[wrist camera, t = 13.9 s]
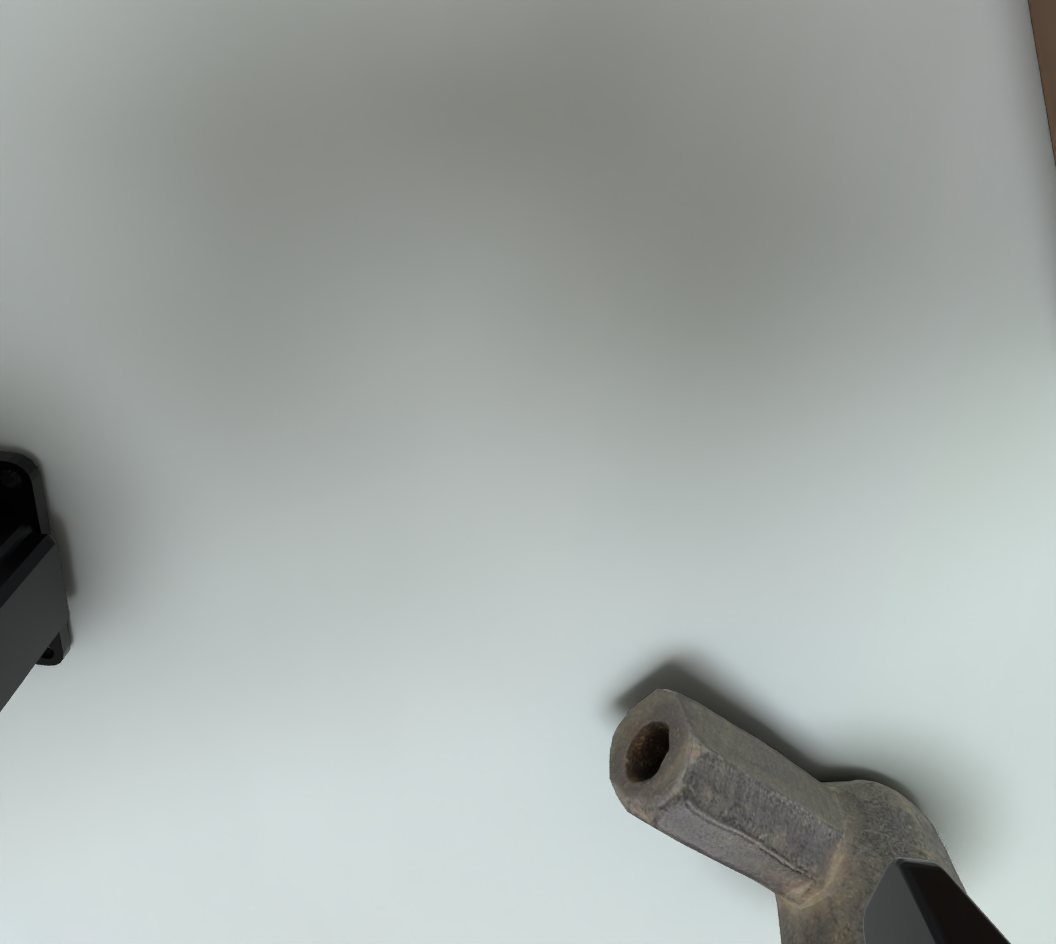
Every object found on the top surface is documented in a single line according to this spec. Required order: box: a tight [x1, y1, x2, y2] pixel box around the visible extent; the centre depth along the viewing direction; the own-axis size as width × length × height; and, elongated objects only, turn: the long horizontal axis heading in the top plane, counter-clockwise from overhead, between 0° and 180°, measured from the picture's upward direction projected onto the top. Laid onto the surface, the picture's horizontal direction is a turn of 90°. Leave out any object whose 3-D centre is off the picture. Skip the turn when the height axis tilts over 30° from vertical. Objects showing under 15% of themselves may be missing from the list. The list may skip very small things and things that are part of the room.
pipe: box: [609, 689, 967, 944], centre depth 24 cm, size 6×13×8 cm, turn 50°
